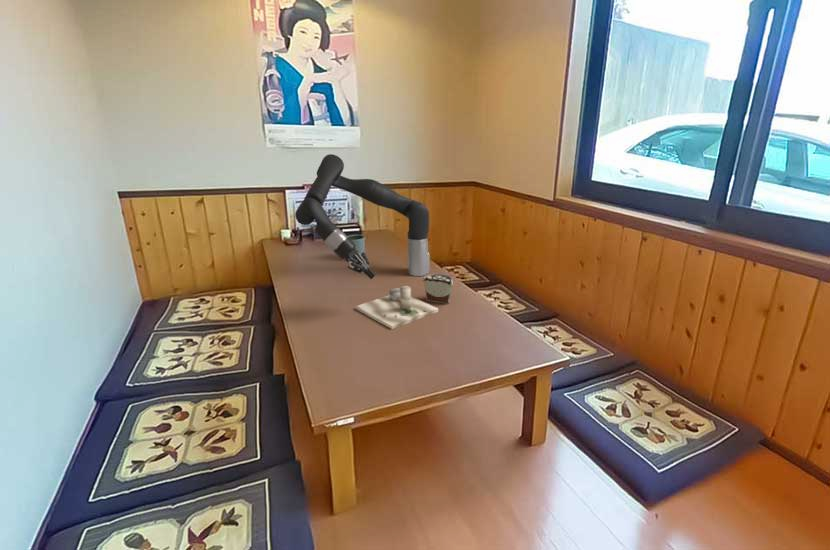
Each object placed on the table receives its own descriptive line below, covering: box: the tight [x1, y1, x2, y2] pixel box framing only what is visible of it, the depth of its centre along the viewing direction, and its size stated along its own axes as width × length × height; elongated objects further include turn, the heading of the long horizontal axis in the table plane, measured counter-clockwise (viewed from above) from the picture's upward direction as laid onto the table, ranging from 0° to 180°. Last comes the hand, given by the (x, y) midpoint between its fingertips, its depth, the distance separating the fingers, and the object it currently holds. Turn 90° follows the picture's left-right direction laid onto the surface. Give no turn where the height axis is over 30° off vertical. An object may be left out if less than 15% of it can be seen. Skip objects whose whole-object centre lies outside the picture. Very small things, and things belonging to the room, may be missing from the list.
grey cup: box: [346, 234, 366, 254], centre depth 227 cm, size 10×10×12 cm
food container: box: [422, 273, 454, 305], centre depth 176 cm, size 12×6×10 cm, turn 65°
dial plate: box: [355, 294, 439, 330], centre depth 168 cm, size 22×23×1 cm
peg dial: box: [389, 285, 412, 313], centre depth 169 cm, size 18×6×8 cm, turn 19°
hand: (373, 277), depth 164 cm, fingers closed
